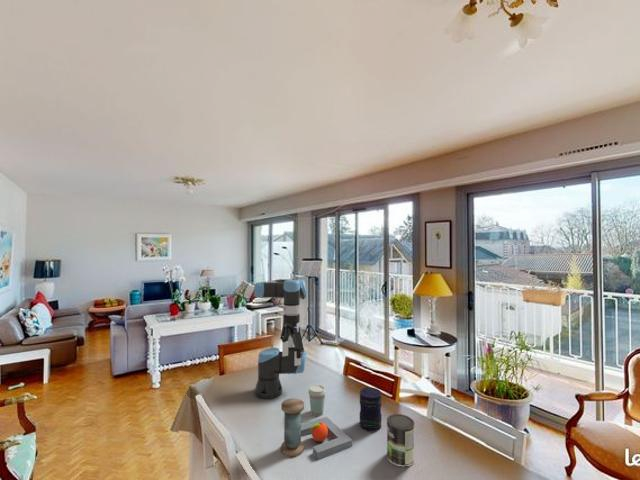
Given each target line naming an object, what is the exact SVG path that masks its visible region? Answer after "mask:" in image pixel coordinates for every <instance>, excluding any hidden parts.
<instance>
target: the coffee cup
mask: <svg viewBox="0 0 640 480" xmlns="http://www.w3.org/2000/svg"><path fill="white" fill-rule="evenodd" d="M326 393H327V390H326V388H325V386H323V385H321V384H314V385H311V386H310V387H309V389H308V395H309V405H310V413H311V414H310V415H312V416H313V417H321V416H323V414H324V409H325V399H326V395H327V394H326Z"/></svg>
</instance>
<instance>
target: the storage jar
mask: <svg viewBox="0 0 640 480" xmlns="http://www.w3.org/2000/svg"><path fill="white" fill-rule="evenodd" d="M359 406H360V409H359V427H360V429H362V430H364V431H367V432H371V433H372V432H379V431H380V430H381V429H382V421H383V420H382V412H381V411H382V391H381V390H380V389H378V388H375V387H369V386H368V387H363V388H361V389H360V390H359Z"/></svg>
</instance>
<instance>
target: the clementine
mask: <svg viewBox="0 0 640 480" xmlns="http://www.w3.org/2000/svg"><path fill="white" fill-rule="evenodd" d="M311 429H312V431H311V430H310V431H311V432H312V433H311V436H312V438H313V440H315V441H316V442H323V441H325V440H326V439H327V437H328V435H329V434H328V429H327V426H326V425H325V424H324V423H322V422H317V423H315V424H314V425H313V426H312V428H311Z"/></svg>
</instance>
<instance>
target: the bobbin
mask: <svg viewBox="0 0 640 480" xmlns="http://www.w3.org/2000/svg"><path fill="white" fill-rule="evenodd" d="M304 409H305V402H304V401H303V400H302V399H300V398H292V397H291V398H287V399H284V400H283V401H282V402H281V411H282V412H284V415H283V416H284V418H283V419H284V421H283V424H284V425H283V427H284V428H283V430H284V431H283V434H284V435H283V442H282V443H281V445H280V452H281V454H282V455H283V456H285V457H288V458H297V457H299V456H301V455H302V454H303V453H304V449H305V447H304V442H303V441H302V439H301V438H302V436H301V425H302V423H301V422H302V412H303V411H304Z"/></svg>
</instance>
